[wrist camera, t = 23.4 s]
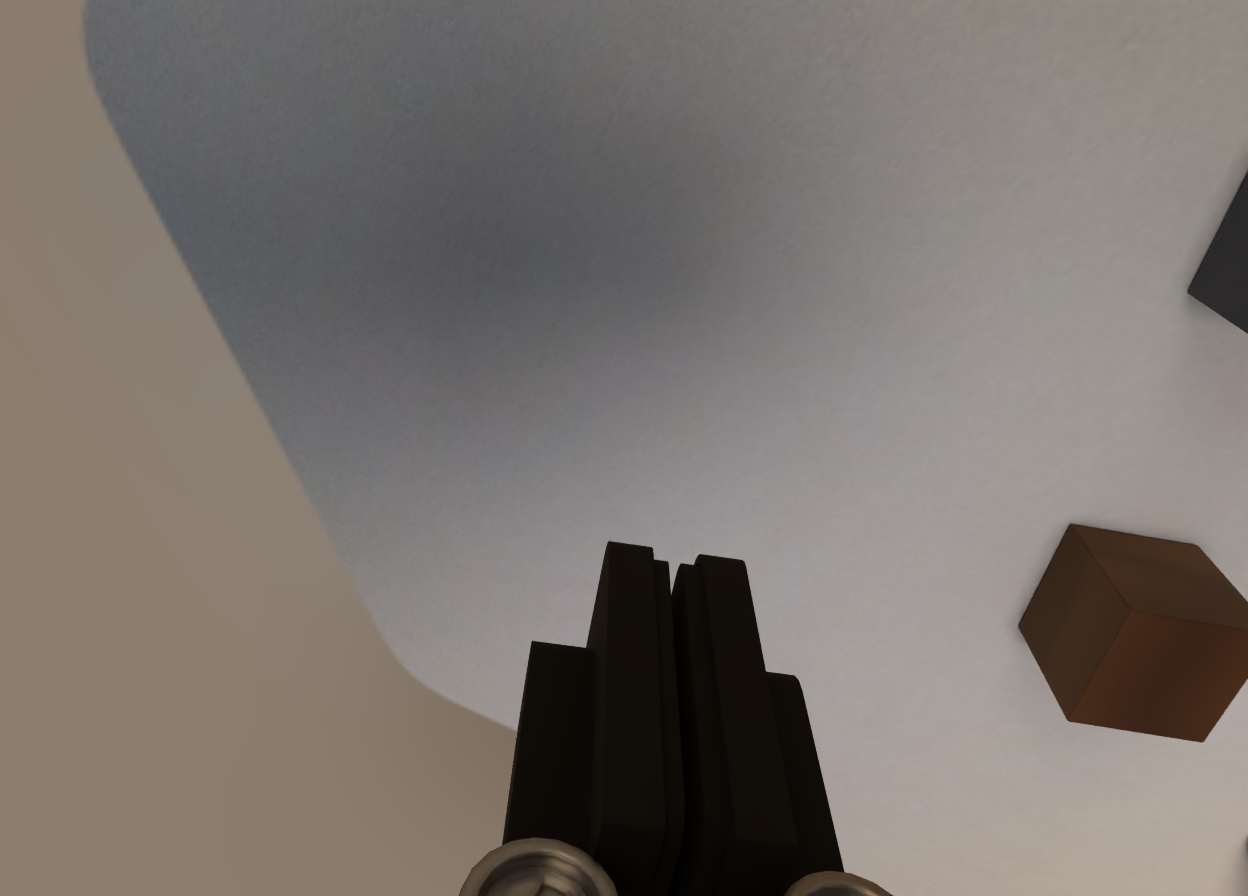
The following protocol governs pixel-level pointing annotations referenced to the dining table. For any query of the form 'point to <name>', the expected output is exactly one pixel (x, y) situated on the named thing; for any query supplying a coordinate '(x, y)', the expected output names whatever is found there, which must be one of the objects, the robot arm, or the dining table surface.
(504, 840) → the robot arm
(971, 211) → the dining table surface
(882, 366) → the dining table surface
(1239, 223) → the slate block
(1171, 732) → the walnut block
